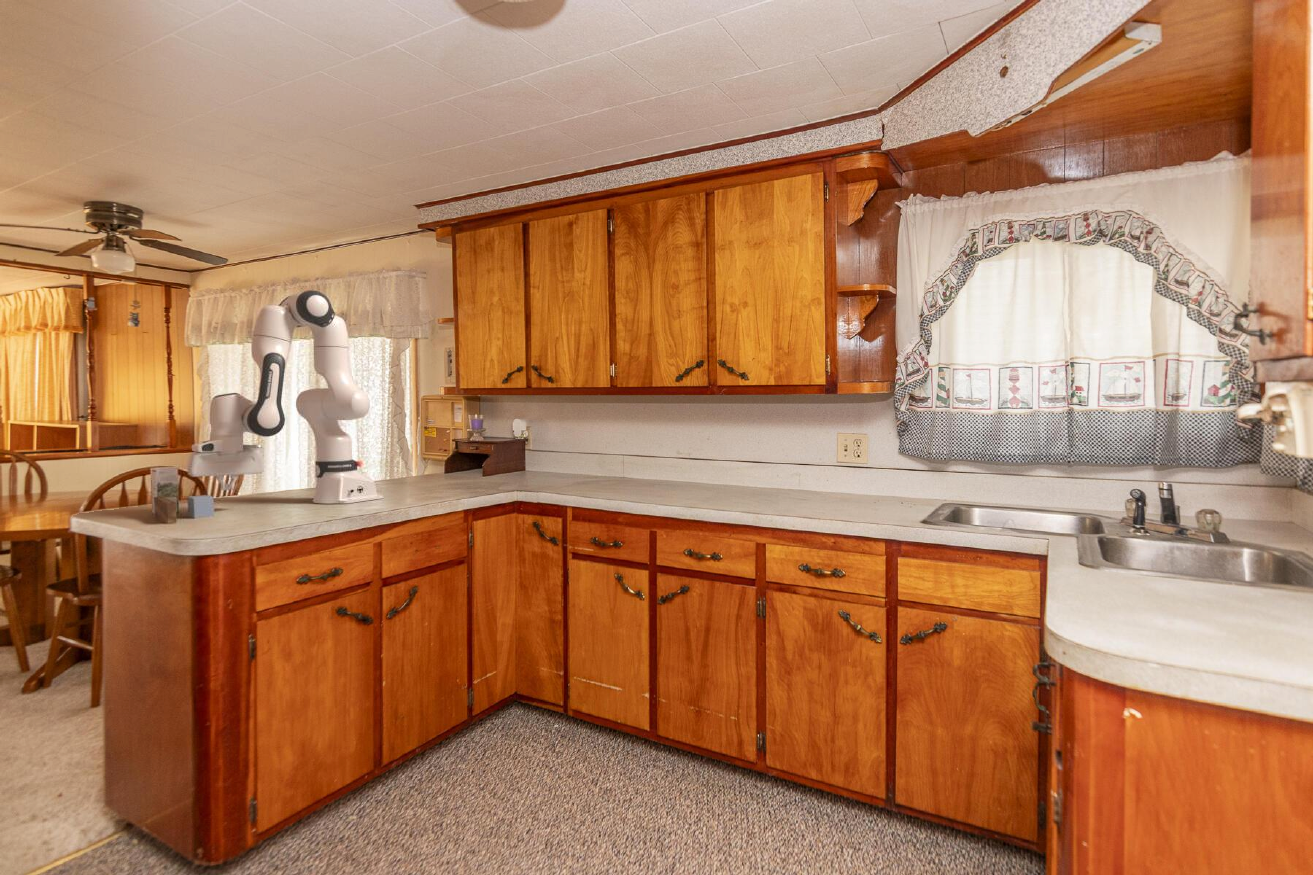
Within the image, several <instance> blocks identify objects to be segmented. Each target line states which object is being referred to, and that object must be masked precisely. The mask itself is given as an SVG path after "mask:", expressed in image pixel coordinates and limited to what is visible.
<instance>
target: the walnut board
mask: <svg viewBox="0 0 1313 875" xmlns="http://www.w3.org/2000/svg"><path fill="white" fill-rule="evenodd" d="M154 510H155V514H154V518H156V519H157V520H160V521H162V522H164V523H166V524H169V525H170V524H176V523H177V521H178V520H177V513H176V502H174V501H172V500H169V499H167V498H164V497H154Z"/></svg>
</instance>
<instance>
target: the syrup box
mask: <svg viewBox="0 0 1313 875" xmlns="http://www.w3.org/2000/svg"><path fill="white" fill-rule="evenodd" d="M150 487H151V488H150V489H151V492H150V493H151V494H150V495H151V513H152V514H153V515H155V510H154V497H164V498H167V499H169V500H172V501H174V502H176V514H178V513H180V502H179V500H180V499H179V498H180V496H179V469H178V467H177V466H175V465H168V466H154V467H150Z"/></svg>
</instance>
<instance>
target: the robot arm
mask: <svg viewBox="0 0 1313 875" xmlns="http://www.w3.org/2000/svg"><path fill="white" fill-rule="evenodd" d="M335 313H336V312H335V310H334V308H333V306H332V304H331V301H330V299H329V298H328V297H327V296H326V294H324V293H322V292H321V291H317V290H313V289H312V290H311V289H309V290H304V291H298V292H296V293H294V294H292V295H288V296H287V297H285V298H284V299H283V300H282V301H281V302H280V303H279V304H278V305H276V304H269V305H266V306H264V307H261V309H260V311H259V313H258V316H257V318H256V321H255V325H254V328H253V331H252V337H251V345H250V346H251V348H250V349H251V350H250V351H251V357H252V359H253V361H254V362H255V364H256V365H257V367H258V369H259V372H260V380H259V386H258V395H257V400H256V402H255V401H253V400H251V399H248V398H246V397H244V395H241V394H240V393H238V392H230V393H224V394H222V393H221V394H218V395H215V396H214V397H212V398H211V401H210V404H209V405H210V406H209V425H210V432H209V440H205V441H202V442H201V441H200V442H198V443H193V444H192V445H191V450H192V451H193V452H191V454H189V457H188V461H187V462H188V463H187V474H188V476H190V477H193V478H197V477H212V476H214V477H216V480H217V481H218V483H219V485H220V489H221V491H231V490H234V484H235V482H236V481H237V479H238V475H239V476H240V475H257V474H263V472H264V471H265V463H264V462H265V461H264V456H265V453H264V452H265V450H264V447H262V446H260V445H259V444H244V433H250V434H253V435H258V437H259V436H260V437H265V438H267V437H273V436H275V435H277V434H279V433H280V432H281V431H282V430H283V428H284V427H285V423H286V417H285V413H284V409H283V407H282V397H283V387H284V379H285V371H286V367H287V363H288V360H289V357H290V353H291V346H292V342H293V335H294V331H295V330H296V328H300V327H308V328H309V329H310V331H311V333H312V338H313V368H314V371H315V373H317V374H318V375H320V377H323V378H324V380H325V381H326V384H327V388H326V387H325V388H324V387H323V388H321V387H320V388H317V387H315V388H311V389H306V390H302V391H301V392H300V393H299V394H298V395H297V397H296V400H295V407H296V411H297V413H298V414H299V416H301V417H302V418H303V419H305V420H306V422H307V423H308V425H309V426H310V428H311V430H312V433H313V436H314V440H315V450H316V461H315V466H314V467H315V468H314V471H315V477H316V484H315V491H314V495H313V500H312V503H314V504H345V505H346V504H352V503H353V504H354V503H359V502H367V501H371V500H379V499H380V500H381V499H384V495H383V493H379V492H377V486H376V483H375V481H374V480H373V479H372V478H371V477H369V476H367V475H366V474H364V473H363V472H361V471H360V470H359V469H358V467H362V466H363V465H364V463H363V461H361V460H355V459H353V450H352V448H353V446H352V445H353V444H352V437H351V436H350V435H349V434H348V433H347V432H345V431H344V430H343V429H342V428H341V426H340V424H339V421H353V420H354V421H355V420H358V419H362V418H364V417H365V416H367V414H368V413H369V411H370V406H371V405H370V403H371V402H370V399H369V396H368V395H367V393H366V392H365V391H363V390H362V389H361V388H360V387H359V386H358V384H357V382H356V381H355V379H354V376H353V374H352V371H351V362H350V361H351V360H350V341H349V333H348V327H347V324H346V322H345V320H344V319H343V317H340V316H338V315H336V314H335ZM225 476H229V477H230V479H231V480H230V481H229V483H225V482H224V478H225Z"/></svg>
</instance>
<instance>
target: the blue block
mask: <svg viewBox="0 0 1313 875" xmlns="http://www.w3.org/2000/svg"><path fill="white" fill-rule="evenodd" d="M214 507H215V506H214V496H212V495H209V494H201V495H190V496H189V495H188V496H187V516H188V517H190V518H193V519H202V518H210V517H212V518H213V517H215V510H214Z"/></svg>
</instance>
